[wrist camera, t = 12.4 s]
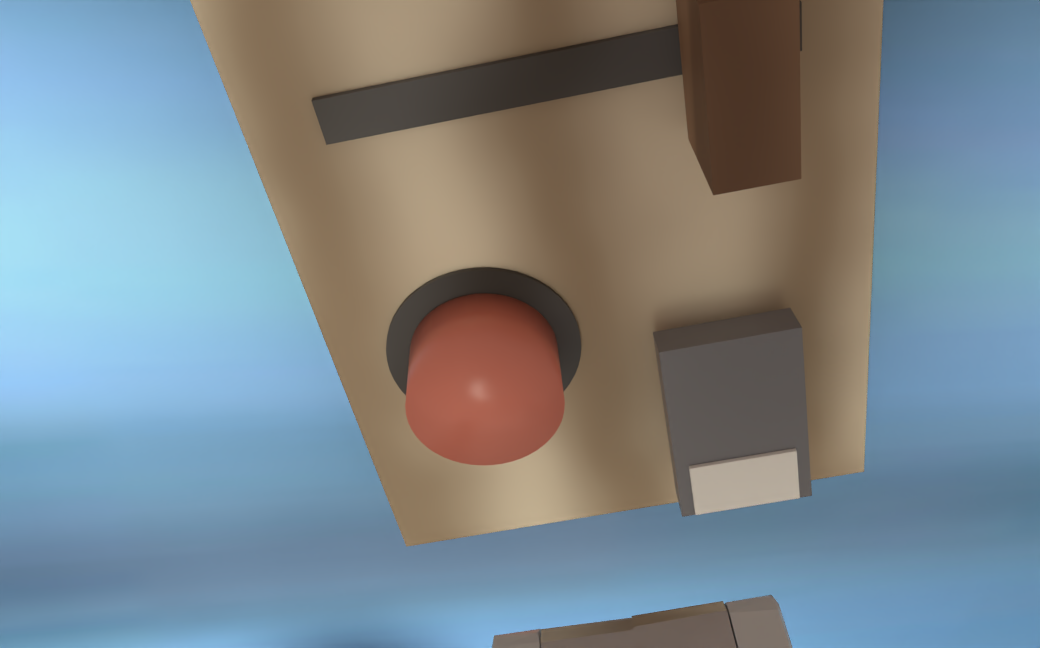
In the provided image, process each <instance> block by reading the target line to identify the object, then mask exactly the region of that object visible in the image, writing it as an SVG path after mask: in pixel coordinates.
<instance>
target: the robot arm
mask: <svg viewBox="0 0 1040 648" xmlns="http://www.w3.org/2000/svg"><path fill="white" fill-rule="evenodd" d="M492 648H792V645H791V641H790V638H789V635H788V632H787V629H786V626H785V622H784V619H783V616H782V613H781V610H780V607H779V604H778V603H777V602H776V600H775V599H774V598H773V596H772V595H767V596H762V597H756V598H750V599H744V600H738V601H732V602H726V603H725V604H724V603H723V601H721V602H715V603H709V604H703V605H696V606H690V607H684V608H678V609H672V610H666V611H660V612H654V613H648V614H641V615H635V616H632V618H625V619H617V620H610V621H602V622H594V623H587V624H579V625H571V626H563V627H556V628H548V629H537V630H530V631H524V632H517V633H510V634H503V635H496V636H494V639H493V644H492Z"/></svg>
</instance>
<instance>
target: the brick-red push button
mask: <svg viewBox="0 0 1040 648" xmlns="http://www.w3.org/2000/svg"><path fill="white" fill-rule="evenodd" d="M405 409H406V416H407V420H408V423H409V425H410V428H411V430H412V431H413V433H414V434H415V436H416V437H417V438H418V439H419V440H420V441H421V443H423V444H424V445H425V446H426V447H427V448H429V449H430V450H432V451H433V452H435V453H436V454H438V455H440V456H442V457H444V458H447V459H449V460H452V461H455V462H459V463H464V464H470V465H498V464H504V463H508V462H512V461H515V460H518V459H521V458H523V457H526V456H528V455H530V454H531V453H533V452H535V451H537V450H538V449H539V448H541V447H542V446H543V445H545V444H546V443H547V442H548V441H549V440H550V439H551V438H552V436H553V435H554V434H555V433H556V431H557V429H558V428H559V426H560V424H561V421H562V419H563V415H564V409H565V400H564V392H563V384H562V376H561V368H560V360H559V353H558V345H557V340H556V336H555V333H554V331H553V329H552V327H551V326H550V324H549V323H548V321H547V320H546V319H545V318H544V317H543V316H542V315H541V314H540V313H539V312H538V311H537V310H535V309H534V308H533V307H531V306H530V305H528V304H526V303H524V302H522V301H520V300H518V299H515V298H512V297H509V296H504V295H499V294H489V293H485V294H471V295H465V296H461V297H457V298H455V299H452V300H449V301H447V302H445V303H443V304H441V305H439V306H438V307H436V308H435V309H433V310H432V311H431V312H430V313H429V314H428V315H426V316H425V318H424V319H423V320H422V321H421V322H420V324H419V325H418V327H417V328H416V330H415V332H414V334H413V337H412V340H411V344H410V354H409V366H408V378H407V390H406V403H405Z"/></svg>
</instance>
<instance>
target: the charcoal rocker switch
mask: <svg viewBox="0 0 1040 648" xmlns="http://www.w3.org/2000/svg"><path fill="white" fill-rule="evenodd" d="M653 337H654V344H655V351H656V358H657V365H658V372H659V379H660V386H661V393H662V399H663V406H664V413H665V420H666V427H667V434H668V441H669V448H670V455H671V461H672V468H673V475H674V482H675V489H676V494H677V498H678V502H679V506H680V510H681V513H682V517H683V516H689V515H699V514H705V513H711V512H717V511H724V510H730V509H736V508H742V507H748V506H754V505H760V504H767V503H773V502H779V501H785V500H791V499H797V498H800V497H806V496H812V491H811V474H810V456H809V439H808V422H807V405H806V387H805V370H804V353H803V336H802V327H801V325H800V323H799V322H798V320H797V318H796V317H795V315H794V313H793V311H792V310H791V308H785V309H780V310H774V311H768V312H763V313H757V314H752V315H746V316H740V317H735V318H729V319H723V320H718V321H712V322H707V323H701V324H695V325H690V326H684V327H678V328H673V329H667V330H662V331H656V332H653Z"/></svg>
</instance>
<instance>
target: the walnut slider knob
mask: <svg viewBox="0 0 1040 648" xmlns="http://www.w3.org/2000/svg"><path fill="white" fill-rule="evenodd" d="M676 8H677V20H678V31H679V42H680V53H681V64H682V75H683V86H684V98H685V109H686V120H687V131H688V140H689V142H690V144H691V146H692V149H693V151H694V153H695V155H696V158H697V160H698V162H699V164H700V167H701V169H702V171H703V173H704V176H705V178H706V180H707V182H708V185H709V187H710V189H711V191H712V194H713V195H719V194H724V193H729V192H735V191H740V190H745V189H751V188H756V187H761V186H767V185H772V184H777V183H783V182H788V181H793V180H799V179H801V95H800V9H799V0H676Z"/></svg>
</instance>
